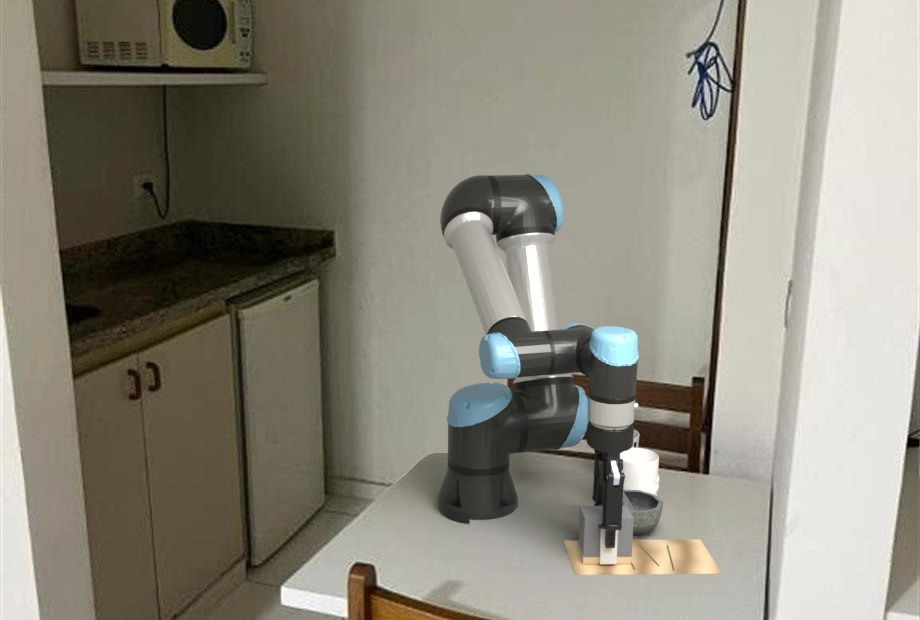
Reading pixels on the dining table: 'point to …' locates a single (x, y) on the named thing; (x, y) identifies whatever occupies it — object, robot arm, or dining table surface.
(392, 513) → the dining table surface
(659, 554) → the board
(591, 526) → the block
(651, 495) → the mortar and pestle
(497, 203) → the robot arm
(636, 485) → the mug
